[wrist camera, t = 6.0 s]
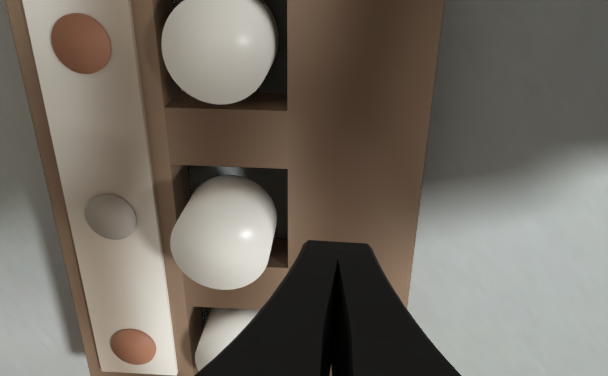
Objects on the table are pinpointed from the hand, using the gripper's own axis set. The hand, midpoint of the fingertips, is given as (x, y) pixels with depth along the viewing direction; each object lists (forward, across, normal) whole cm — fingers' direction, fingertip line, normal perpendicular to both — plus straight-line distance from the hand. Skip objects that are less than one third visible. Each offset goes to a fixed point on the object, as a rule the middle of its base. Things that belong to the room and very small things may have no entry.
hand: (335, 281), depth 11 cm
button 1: (+8, +4, -3) cm, 10 cm away
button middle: (+7, +4, +3) cm, 8 cm away
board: (+9, +4, +3) cm, 10 cm away
